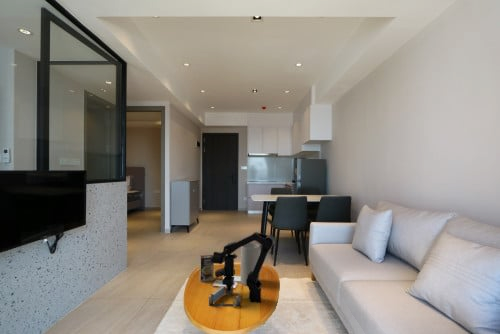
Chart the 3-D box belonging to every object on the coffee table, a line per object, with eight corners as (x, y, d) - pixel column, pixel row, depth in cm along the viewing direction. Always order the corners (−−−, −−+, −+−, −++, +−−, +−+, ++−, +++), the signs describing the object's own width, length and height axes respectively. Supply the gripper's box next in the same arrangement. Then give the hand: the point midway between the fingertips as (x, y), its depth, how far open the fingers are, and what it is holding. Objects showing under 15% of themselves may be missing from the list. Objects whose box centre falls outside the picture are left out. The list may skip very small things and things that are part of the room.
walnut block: (233, 292, 172) (233, 285, 172) (232, 295, 168) (232, 288, 168) (225, 292, 172) (226, 285, 172) (225, 295, 168) (225, 288, 168)
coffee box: (200, 282, 187) (200, 258, 187) (199, 278, 193) (199, 255, 193) (213, 280, 190) (214, 257, 190) (212, 277, 196) (212, 254, 196)
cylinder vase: (259, 279, 193) (259, 243, 193) (258, 286, 181) (258, 248, 181) (241, 278, 194) (242, 242, 195) (239, 285, 182) (239, 247, 182)
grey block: (214, 302, 158) (214, 294, 158) (211, 301, 158) (211, 293, 158) (225, 293, 168) (225, 286, 168) (222, 293, 169) (222, 285, 169)
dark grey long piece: (208, 307, 154) (208, 297, 154) (209, 303, 157) (209, 294, 157) (240, 307, 153) (240, 297, 154) (240, 304, 157) (240, 294, 157)
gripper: (217, 259, 177) (217, 284, 176) (213, 270, 158) (213, 297, 158) (235, 259, 176) (235, 284, 176) (233, 270, 158) (232, 298, 158)
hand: (228, 290), depth 167 cm, fingers closed
